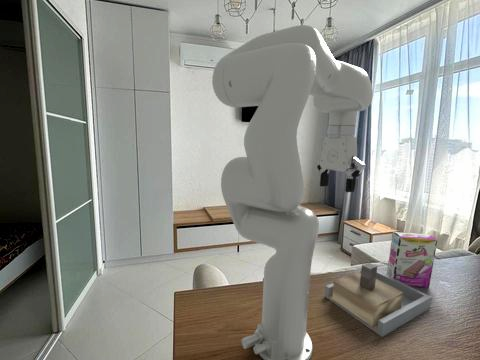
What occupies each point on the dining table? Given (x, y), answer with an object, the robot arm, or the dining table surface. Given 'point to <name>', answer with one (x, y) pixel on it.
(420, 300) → the bay
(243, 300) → the dining table surface
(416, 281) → the candy bar box
